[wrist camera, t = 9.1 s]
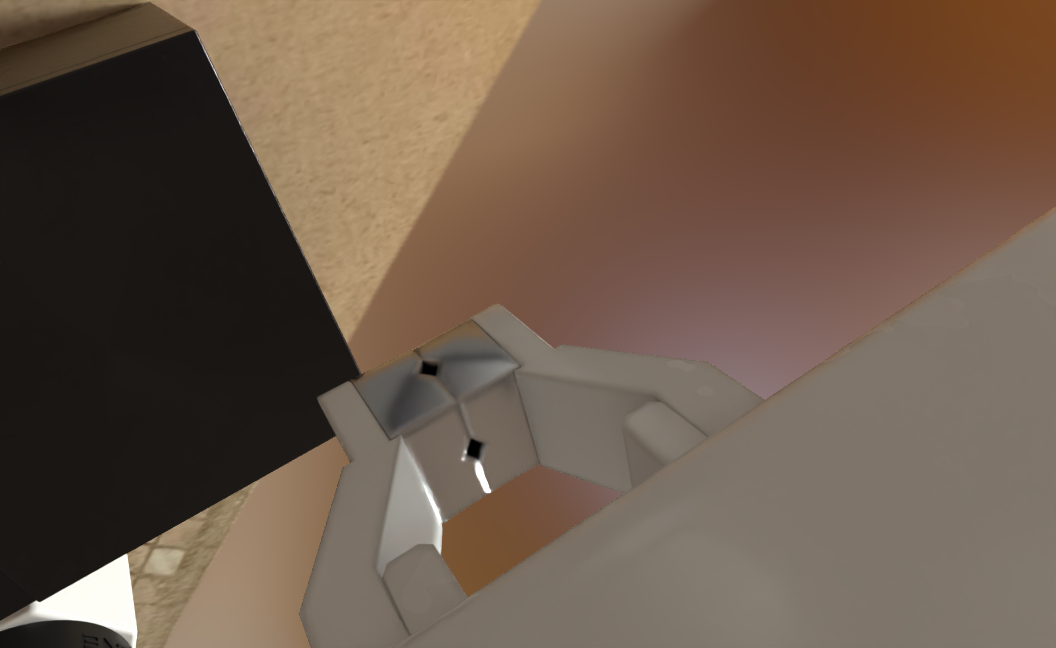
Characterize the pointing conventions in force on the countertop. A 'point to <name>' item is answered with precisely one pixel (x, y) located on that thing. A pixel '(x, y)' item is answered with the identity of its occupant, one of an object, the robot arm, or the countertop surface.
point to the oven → (140, 301)
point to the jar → (79, 614)
